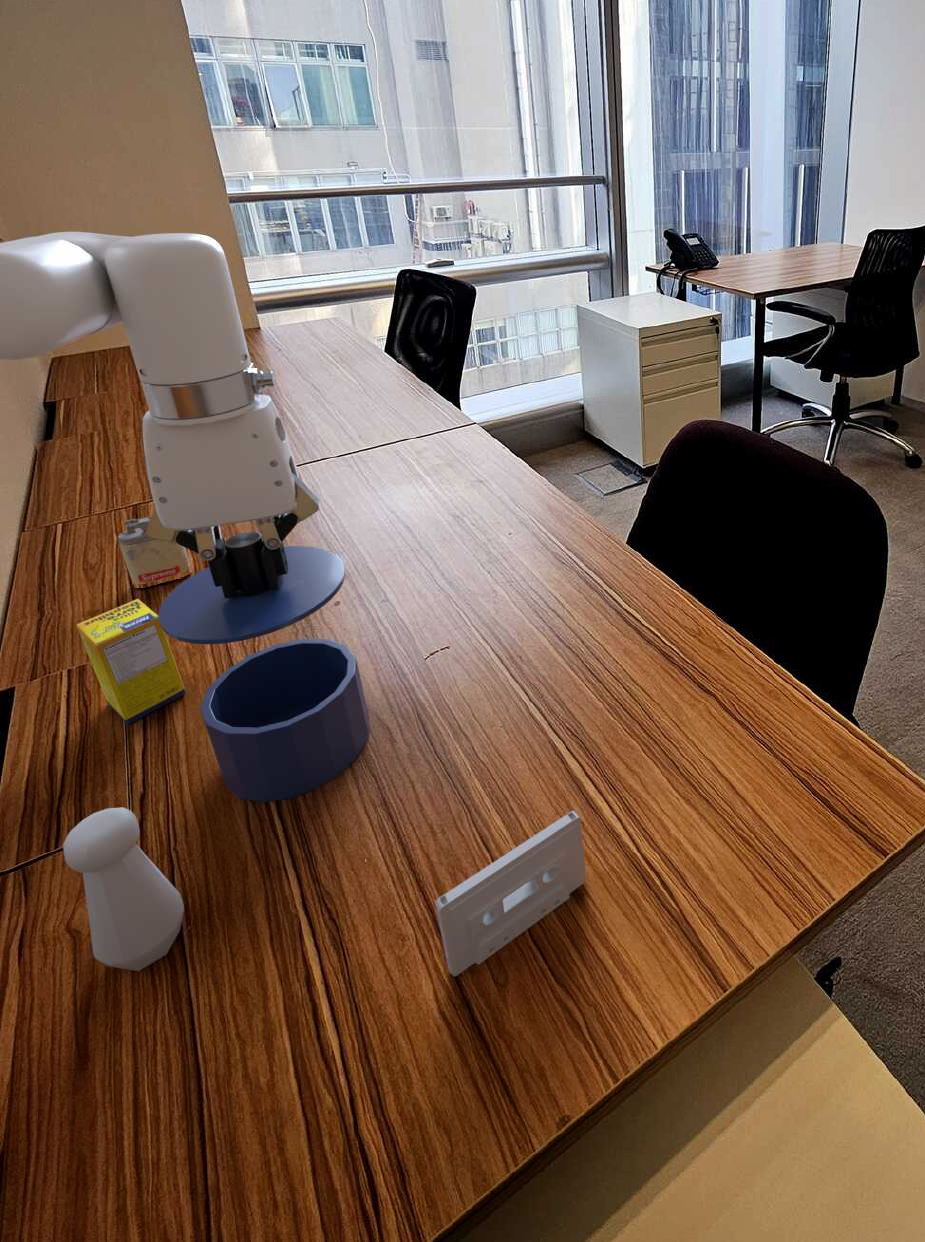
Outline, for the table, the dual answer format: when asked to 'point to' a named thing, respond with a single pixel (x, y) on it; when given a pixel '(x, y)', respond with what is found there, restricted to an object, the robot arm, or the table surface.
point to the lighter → (150, 554)
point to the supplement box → (132, 660)
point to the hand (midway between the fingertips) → (254, 584)
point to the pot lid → (251, 594)
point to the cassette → (511, 894)
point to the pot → (287, 719)
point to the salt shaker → (123, 891)
